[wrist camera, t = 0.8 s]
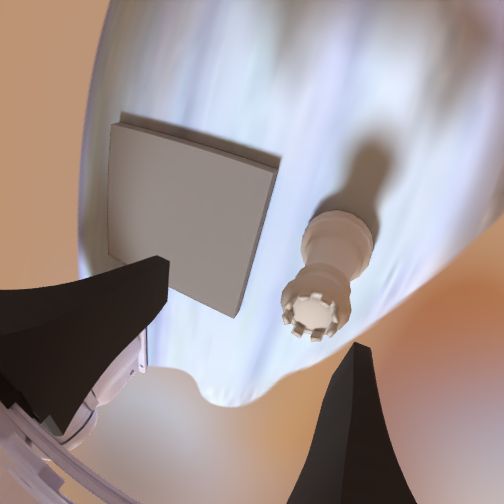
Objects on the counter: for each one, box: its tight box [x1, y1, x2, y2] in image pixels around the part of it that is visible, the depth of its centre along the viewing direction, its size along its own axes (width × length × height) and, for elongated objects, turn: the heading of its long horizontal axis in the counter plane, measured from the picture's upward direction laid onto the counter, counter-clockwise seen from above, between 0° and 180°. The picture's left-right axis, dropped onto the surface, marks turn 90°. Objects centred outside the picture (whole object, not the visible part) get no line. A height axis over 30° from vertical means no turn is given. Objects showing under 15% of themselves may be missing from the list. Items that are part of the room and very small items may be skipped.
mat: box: [107, 122, 278, 318], centre depth 24 cm, size 12×13×1 cm
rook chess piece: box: [281, 210, 374, 342], centre depth 17 cm, size 4×4×8 cm
